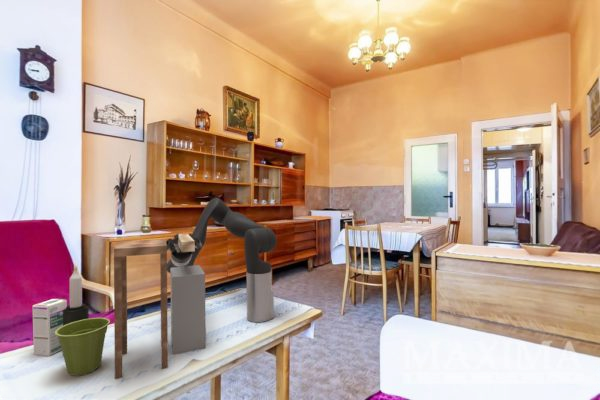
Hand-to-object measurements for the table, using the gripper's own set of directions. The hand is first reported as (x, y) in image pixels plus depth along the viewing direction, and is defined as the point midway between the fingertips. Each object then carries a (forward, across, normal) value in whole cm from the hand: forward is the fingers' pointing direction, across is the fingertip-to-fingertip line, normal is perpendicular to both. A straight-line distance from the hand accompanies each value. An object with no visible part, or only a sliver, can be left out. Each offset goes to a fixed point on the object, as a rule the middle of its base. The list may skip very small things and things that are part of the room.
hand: (184, 236), depth 106 cm
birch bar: (+2, 0, +5) cm, 5 cm away
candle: (-13, -30, +29) cm, 44 cm away
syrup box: (-17, -37, +27) cm, 49 cm away
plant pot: (-3, -26, +35) cm, 44 cm away
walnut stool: (-1, -12, +36) cm, 38 cm away
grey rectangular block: (-7, 0, +33) cm, 33 cm away
